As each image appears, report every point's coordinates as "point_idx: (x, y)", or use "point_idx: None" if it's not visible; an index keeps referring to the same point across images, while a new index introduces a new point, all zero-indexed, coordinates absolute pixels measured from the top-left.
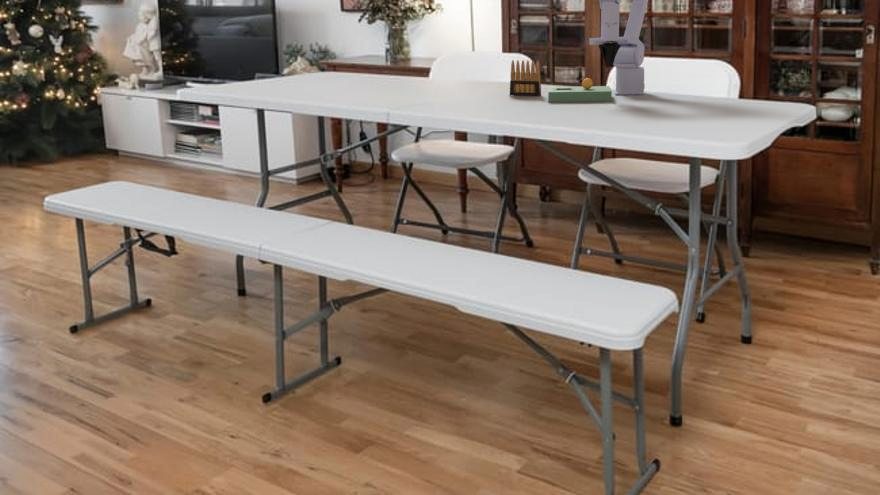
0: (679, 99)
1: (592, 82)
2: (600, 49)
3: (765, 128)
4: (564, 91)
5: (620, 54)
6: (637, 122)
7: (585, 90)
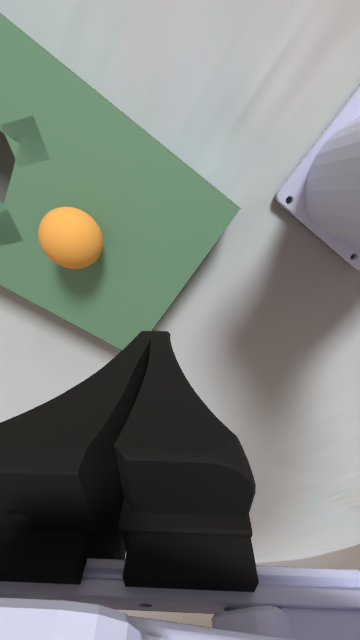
0: (321, 405)
1: (92, 262)
2: (31, 417)
3: None
4: None
5: None
6: None
7: (54, 276)
